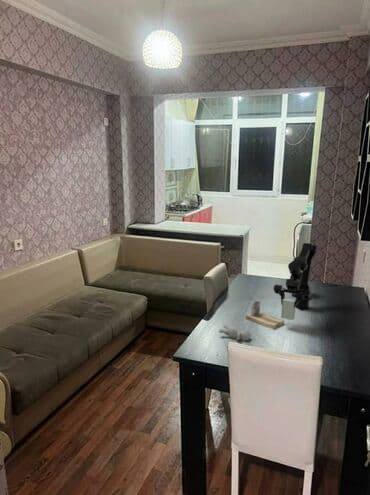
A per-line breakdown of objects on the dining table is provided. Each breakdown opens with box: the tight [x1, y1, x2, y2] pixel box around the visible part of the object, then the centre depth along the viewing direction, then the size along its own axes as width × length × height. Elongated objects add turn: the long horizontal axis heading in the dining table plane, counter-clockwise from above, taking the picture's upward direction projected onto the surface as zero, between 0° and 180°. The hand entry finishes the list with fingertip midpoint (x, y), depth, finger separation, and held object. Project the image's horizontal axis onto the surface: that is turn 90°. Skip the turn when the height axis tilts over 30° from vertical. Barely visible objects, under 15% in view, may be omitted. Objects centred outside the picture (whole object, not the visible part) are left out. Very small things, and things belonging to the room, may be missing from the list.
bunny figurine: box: [218, 324, 252, 342], centre depth 180 cm, size 10×5×15 cm
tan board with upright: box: [245, 299, 285, 330], centre depth 197 cm, size 10×18×10 cm, turn 43°
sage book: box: [280, 297, 296, 321], centre depth 188 cm, size 3×6×10 cm, turn 58°
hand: (288, 306), depth 186 cm, fingers closed on sage book, 6 cm apart
